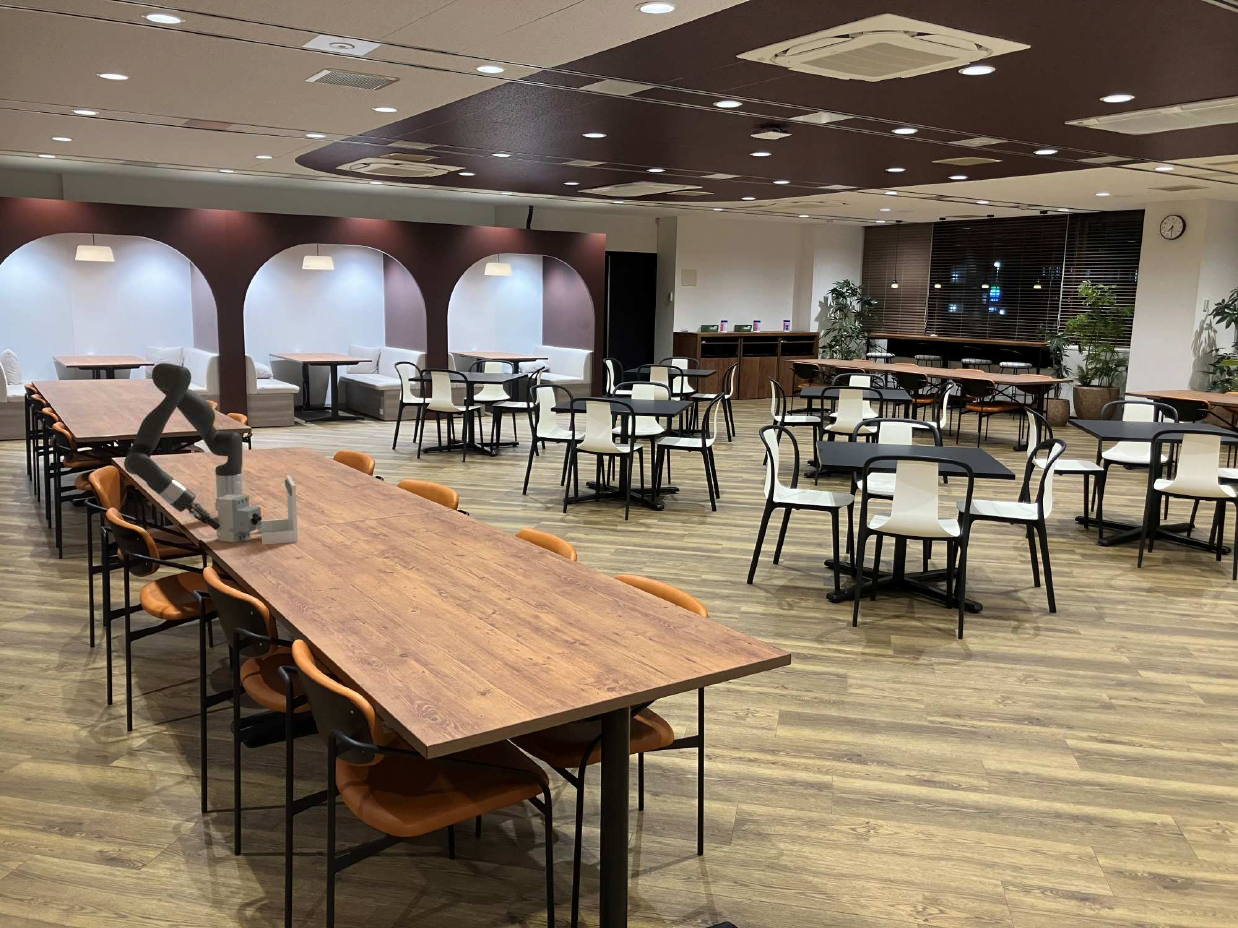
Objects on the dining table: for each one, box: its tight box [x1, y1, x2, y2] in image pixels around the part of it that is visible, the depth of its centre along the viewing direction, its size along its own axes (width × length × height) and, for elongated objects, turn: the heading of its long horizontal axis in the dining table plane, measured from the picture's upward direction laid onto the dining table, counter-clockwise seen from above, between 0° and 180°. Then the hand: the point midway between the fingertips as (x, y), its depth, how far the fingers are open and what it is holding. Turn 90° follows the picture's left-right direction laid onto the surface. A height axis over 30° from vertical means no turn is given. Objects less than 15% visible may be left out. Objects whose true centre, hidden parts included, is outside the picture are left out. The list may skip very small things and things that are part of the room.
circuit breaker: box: [214, 494, 263, 543], centre depth 343 cm, size 8×14×15 cm, turn 78°
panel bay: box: [257, 475, 299, 545], centre depth 347 cm, size 20×12×20 cm, turn 24°
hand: (217, 527), depth 341 cm, fingers closed
